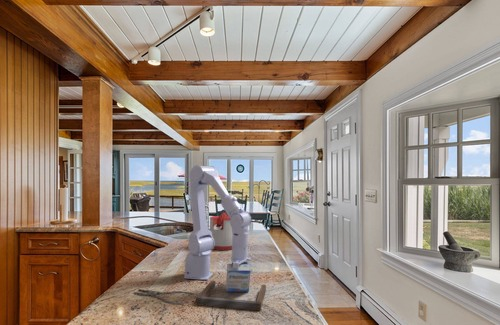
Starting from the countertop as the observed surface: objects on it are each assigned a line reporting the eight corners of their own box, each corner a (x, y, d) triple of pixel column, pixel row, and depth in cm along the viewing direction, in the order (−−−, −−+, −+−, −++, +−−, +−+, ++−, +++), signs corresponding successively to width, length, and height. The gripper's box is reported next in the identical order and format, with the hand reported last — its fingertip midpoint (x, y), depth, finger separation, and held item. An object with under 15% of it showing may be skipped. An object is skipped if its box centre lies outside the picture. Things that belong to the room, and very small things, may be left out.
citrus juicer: (202, 250, 158) (203, 213, 159) (215, 244, 175) (216, 210, 176) (229, 253, 153) (230, 215, 154) (240, 246, 170) (241, 211, 171)
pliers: (188, 303, 91) (124, 300, 92) (187, 306, 91) (124, 303, 92) (195, 291, 101) (137, 288, 101) (194, 294, 101) (137, 291, 101)
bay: (196, 304, 91) (196, 297, 92) (211, 286, 107) (211, 280, 107) (260, 310, 88) (260, 303, 88) (265, 290, 104) (265, 284, 104)
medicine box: (226, 292, 101) (227, 271, 99) (225, 283, 106) (227, 263, 103) (249, 292, 103) (250, 270, 100) (247, 283, 107) (249, 262, 104)
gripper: (247, 250, 100) (246, 291, 99) (253, 241, 114) (252, 277, 113) (227, 249, 101) (226, 289, 100) (235, 240, 115) (234, 276, 115)
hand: (238, 283), depth 107 cm, fingers closed
